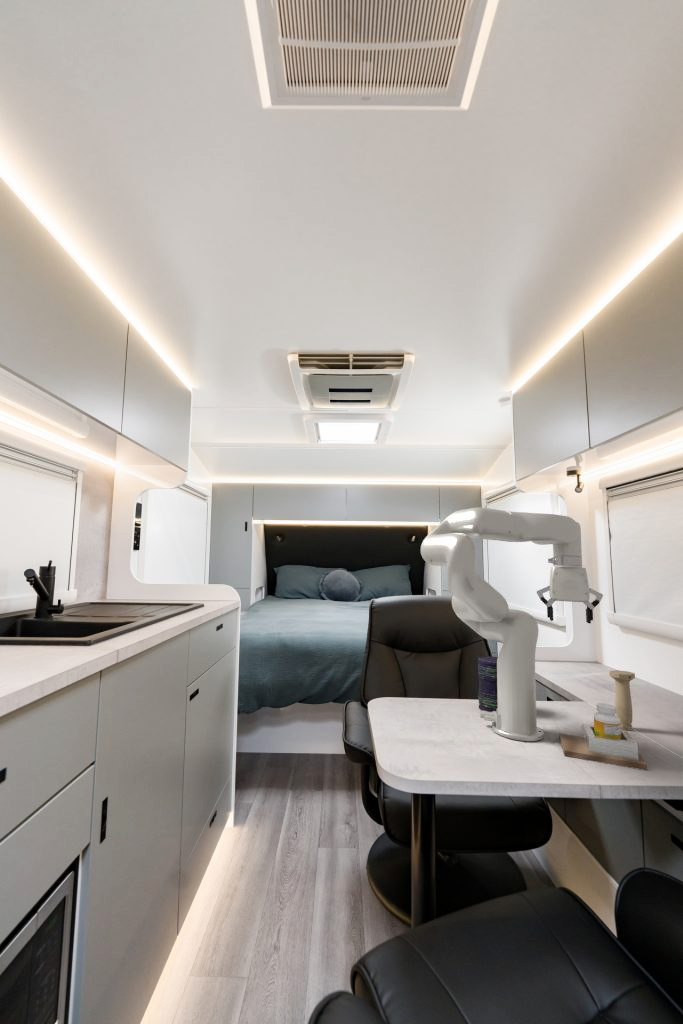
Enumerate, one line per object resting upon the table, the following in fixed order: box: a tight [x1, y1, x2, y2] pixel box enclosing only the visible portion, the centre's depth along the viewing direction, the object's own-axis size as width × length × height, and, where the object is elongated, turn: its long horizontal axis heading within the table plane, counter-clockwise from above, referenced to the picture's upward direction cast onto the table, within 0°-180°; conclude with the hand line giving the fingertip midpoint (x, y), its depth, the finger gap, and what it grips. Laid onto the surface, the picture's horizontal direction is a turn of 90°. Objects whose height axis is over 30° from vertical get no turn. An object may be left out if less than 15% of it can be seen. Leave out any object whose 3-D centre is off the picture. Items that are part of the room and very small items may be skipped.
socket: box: [581, 723, 639, 761], centre depth 100 cm, size 10×10×4 cm
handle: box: [609, 669, 636, 731], centre depth 119 cm, size 5×6×15 cm
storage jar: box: [477, 655, 498, 712], centre depth 132 cm, size 10×10×15 cm
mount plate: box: [558, 732, 648, 771], centre depth 101 cm, size 16×12×1 cm
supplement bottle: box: [593, 702, 621, 739], centre depth 101 cm, size 5×5×10 cm
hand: (569, 621), depth 124 cm, fingers open, 9 cm apart
